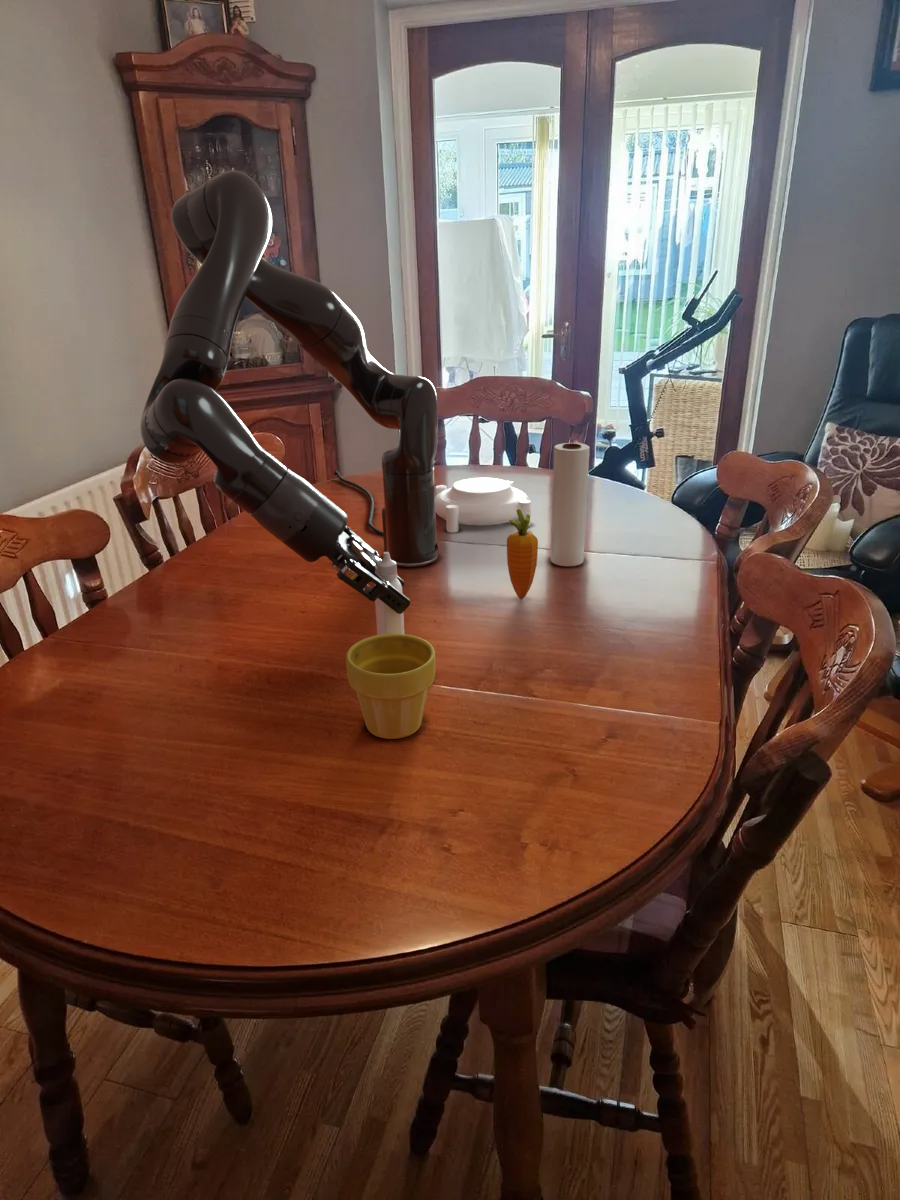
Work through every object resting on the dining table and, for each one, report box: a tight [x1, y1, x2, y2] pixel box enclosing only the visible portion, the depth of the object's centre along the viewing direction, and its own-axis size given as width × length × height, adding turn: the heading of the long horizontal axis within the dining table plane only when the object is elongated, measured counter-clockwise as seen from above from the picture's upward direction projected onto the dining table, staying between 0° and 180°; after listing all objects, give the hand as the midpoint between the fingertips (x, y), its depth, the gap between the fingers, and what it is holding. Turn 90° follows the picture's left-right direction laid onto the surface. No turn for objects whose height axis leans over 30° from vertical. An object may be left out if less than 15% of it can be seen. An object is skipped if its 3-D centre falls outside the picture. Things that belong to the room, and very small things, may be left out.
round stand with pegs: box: [435, 476, 532, 533], centre depth 162 cm, size 24×24×7 cm
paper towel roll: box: [550, 439, 591, 567], centre depth 134 cm, size 7×6×21 cm
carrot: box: [506, 509, 539, 601], centre depth 120 cm, size 5×5×15 cm
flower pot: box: [345, 633, 436, 740], centre depth 89 cm, size 10×10×10 cm
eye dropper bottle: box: [373, 552, 405, 635], centre depth 96 cm, size 4×6×12 cm
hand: (402, 597), depth 96 cm, fingers closed on eye dropper bottle, 5 cm apart
